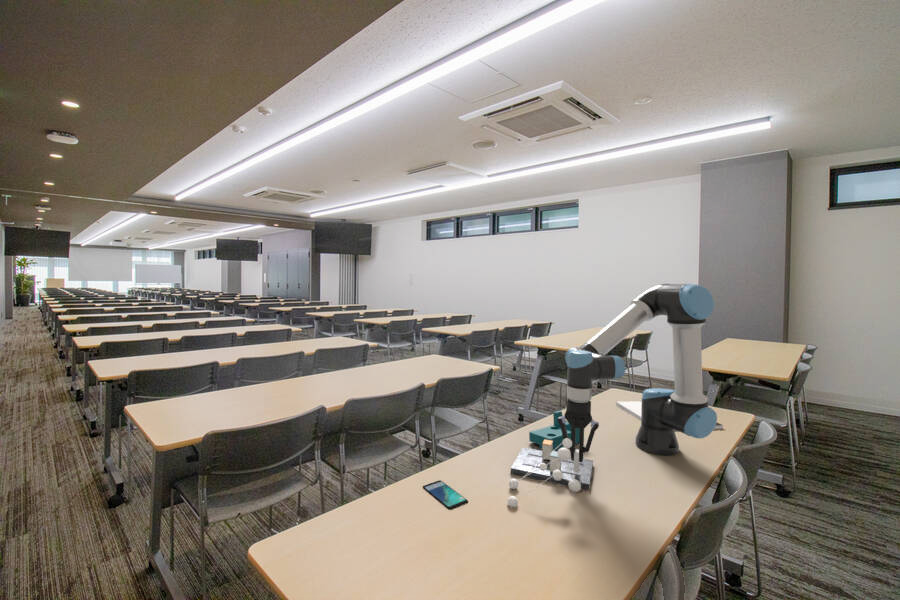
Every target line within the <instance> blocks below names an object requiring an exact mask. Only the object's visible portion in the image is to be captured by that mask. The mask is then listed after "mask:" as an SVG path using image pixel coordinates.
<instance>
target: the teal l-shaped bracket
mask: <svg viewBox="0 0 900 600" xmlns="http://www.w3.org/2000/svg"><path fill="white" fill-rule="evenodd" d="M552 416H553V425H550V426H547V427H543V428H539V429H535V430H532V431H529V432H528V435H529V442H531V443H533V444H536V445H538V446H539V449H540V450H542V443H543V441H544V439H545V440H551V441H553V450H554V449H555V450H554V451H558V450H559V449H560V448H563V447H564V446H563V444H561V443H562V442H563V435H562V430H561V426H560V424H559V423H558V418H559V417H560V416H561V417H562V416H564V415H563V411H561V410H557V411H553V415H552ZM565 425H566V429H567V434H568V438H569V439H570V440H571V426H570V424H569V423H568V421H567V420H566V422H565ZM579 436H580V429H579V428H576V441H575V445H577V444H579ZM560 444H561V445H560ZM559 445H560V446H559ZM558 446H559V447H558ZM557 447H558V448H557Z"/></svg>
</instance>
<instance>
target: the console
mask: <svg viewBox="0 0 900 600" xmlns="http://www.w3.org/2000/svg"><path fill="white" fill-rule="evenodd" d="M570 458H571V457H570ZM542 460H543V459H542V450H541V449H540V450H539V449H533V448H530V447H529V448H528V447H525V446H524V447H522V448H521V450H520V451H519V453H518V455H517V457H516V458H515V460H514V462H513V463H512V465H511V467H510V474H511V475H515V476H520V477H522V478H523V477H524V476H525V475H526V474H527V473H528V472H529V471H530V472H529V473H528V474H529V475H528V474H527V475H528V476H527V475H526V477H524V478H528V479H533V480H538V481H542V480H543V481H542V482H544V481H545V480H546V481H545V482H548V483H552V484H558V485H562V486H566V487H569V486H568V484H569V481H570V480H572V478H573V479H574V477H575V479H576V480H578V481H579V482H580V484H581V489H580V490H585V491H590V488H591V481H592V480H591V479H592V475H593V467H594V460H593V459H589V458H584V457H583V461H582V462H579V472H578V473H576V472H574V474H573V471H574V461H572V463H571V459H569V460H567V463H566V461H562V460H561V469H560V471H561V472H562V474H563V478H564V479H561V480H559V481H557V480H555V479H554V478H553V475H552V474H553V472H550V460H547V459H544V460H543V461H542ZM541 461H542V462H541ZM541 463H545V464H546V465H547V464H548V463H549V464H548V465H547V469H546V470H545V471H542V470H541V469H539V468H540V467H539V466H540V464H541ZM537 464H538V465H537ZM567 464H568V465H567ZM536 465H537V466H536ZM535 466H536V467H535ZM572 466H573V469H572ZM534 467H535V468H534ZM568 467H569V468H568ZM533 468H534V469H533ZM532 469H533V470H532ZM537 469H539V470H537ZM536 470H537V471H536ZM569 470H570V471H569ZM534 471H535V472H534ZM532 472H533V473H532ZM570 472H571V474H570ZM530 473H531V474H530ZM571 475H572V477H571ZM551 476H552V477H551ZM550 477H551V478H550ZM548 478H549V479H548ZM547 479H548V480H547ZM565 479H567V480H565ZM568 480H569V481H568Z"/></svg>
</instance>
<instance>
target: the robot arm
mask: <svg viewBox="0 0 900 600" xmlns="http://www.w3.org/2000/svg"><path fill="white" fill-rule="evenodd" d="M629 305H630V306H628V307H627V308H625V310H624V311H622V312H621V313H620V314H618V316H616V317H615V318H614V319H613V320H611V321H610V322H609V323H608V324H606V325H605V326H604V327H603V328H601V330H599V331H598V332H597V333H595V334H594V335H593V336H592V337H590V339H589V340H587V341H586V342H585V343H583V344H582V345H581V346H579V347H571V348H569V349H567V351H566V352H565V355H564V356H565V358H564V360H565V362H566V366H567V373H566V374H567V377H566V378H567V380H566V382H567V383H566V405H565V406H566V409H565V413H564V415H563V416H562V417H561V416H560V417H559V418H558V423H559V424H560V426H561V430H562V435H563V440H564V439H565V438H568V434H567V429H566V425H565V422H566V421H567V422H568V423H569V424H570V426H571V441H572V446H571V447H570V448H567V449H568V450H569V449H570V453H571V458H570V459H571V460H572V461H574V472H576V473H578V472H579V462H582V461H583V458H584V453H589V451H590V448H591V445H592V442H593V439H594V435H595V432H596V431H597V430H598V428H600V427H599V426H600V423H599V421H595V420H594V419H593V416H592V407H591V406H592V401H591V400H592V386H593V385H592V383H593V381H601V380H615V379H621V378H622V377H624V375H625V373H626V364H625V361H624V360H623V358H622V357H620V356H618V355H611V354H610V355H607V354H608V353H609V352H611V350H612V349H613V348H615V347H616V346H617V345H618V344H620V343H621V342H622V341H623V340H624V339H626V338H627V337H629V335H631V333H634V331H635V330H637V329H638V328H639V327H640V326H641V325H642V324H644V323H645V322H649V321H652V320H653V319H654V318H656V317H658V316H666V318H667V319H666V320H667V321H666V322H667V324H668V325H669V326H671V327H672V344H673V345H672V348H673V350H672V351H673V376H674V377H673V379H674V380H673V381H674V390H673V389H671V388H670V389H669V388H661V387H660V388H659V387H657V388H655V387H652V388H646V389H644V390H643V391H642V395H641V396H642V397H641V401H642V413H641V420H640V423H641V424H640V427H639V430H638V432H637V434H636V436H635V445H636V447H637V448H639V449H640V450H643V451H645V452H647V453H650V454H655V455H659V456H674V455H677V454H679V449H680V445H679V442H678V438H677V435H676V431H677V432H679V433H682V434H684V435H686V436H687V437H692V438H694V439H698V440H699V439H704V438H707V437H708V436H709V435H711V434H712V432H713V431H714V430H715V429H714V428H715V426H716V423H718V422H717V421H718V415H717V412H716V411H715V410H714V409H713V408H712V407H709V399H708V397H707V396H706V395H705V394H704V390H703V389H704V388H703V387H704V386H703V358H702V356H703V355H702V353H703V352H702V327H703V326H704V325H706V323H707V320H706V319H708V318H709V317H710V316H711V315H712V312H713V311H714V308H715V302H714V298H713V295H712V292H711V291H710V290H709V289H708V288H706V287H705V286H703V285H700V284H693V283H661V284H657V285H655V286H652V287H650V288H648V289H647V290H645V291H643V292H641V293H640V294H639V295H638V296H636V297H635V298H634V299H632V300H631V302H630V303H629ZM589 424H590V427H591V428H590V430H589V431H590V432H589V434H588V439H587V441H586V444H585V443H584V442H585V429H586V427H588V425H589ZM576 428H579V429H580V436H579V443H578V445H579V446H578V448H576V444H575V441H576ZM674 429H675V430H674Z"/></svg>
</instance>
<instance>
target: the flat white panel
mask: <svg viewBox="0 0 900 600" xmlns="http://www.w3.org/2000/svg"><path fill="white" fill-rule="evenodd" d="M615 406H616V407H617V408H619V409H621V410H622V411H625V412H627V413H628V414H630V415H632V416H633V417H634V418H636V419H638V420H639V421H641V413H642V400H640V401H639V400H637V401H635V400H634V401H630V400H629V401H627V400H626V401H625V400H624V401H615ZM723 427H724V425H723V424H722V423H719V422H717V423H716V426H715V428H714V430H722V429H724V428H723ZM674 431H676V430H675V429H674Z"/></svg>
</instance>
